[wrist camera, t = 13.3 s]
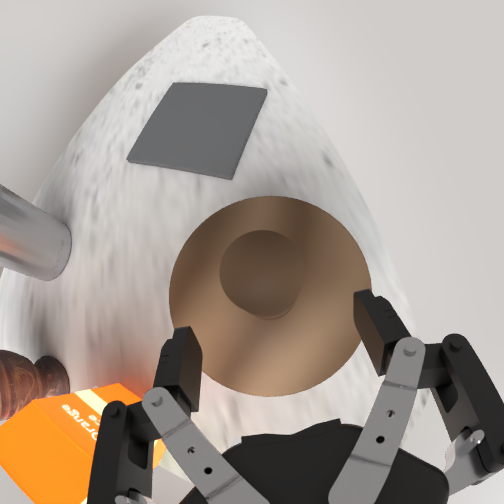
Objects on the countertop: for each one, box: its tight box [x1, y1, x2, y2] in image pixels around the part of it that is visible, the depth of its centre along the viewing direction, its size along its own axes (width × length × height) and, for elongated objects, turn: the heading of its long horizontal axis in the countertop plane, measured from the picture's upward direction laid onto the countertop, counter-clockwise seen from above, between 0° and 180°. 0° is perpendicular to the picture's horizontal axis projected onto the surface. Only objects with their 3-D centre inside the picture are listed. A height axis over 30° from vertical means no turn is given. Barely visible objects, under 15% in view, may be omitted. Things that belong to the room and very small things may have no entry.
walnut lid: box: [169, 196, 372, 397], centre depth 16 cm, size 14×14×8 cm
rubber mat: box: [126, 83, 267, 180], centre depth 37 cm, size 16×16×1 cm
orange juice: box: [0, 383, 166, 504], centre depth 17 cm, size 8×9×20 cm
